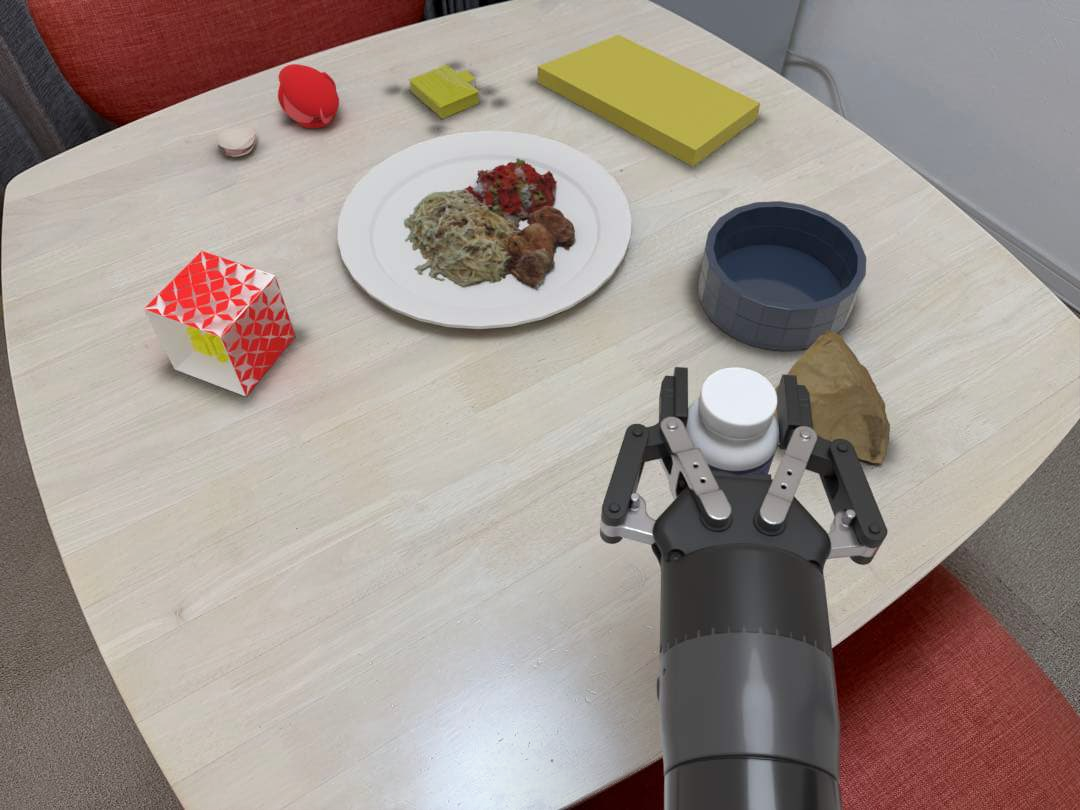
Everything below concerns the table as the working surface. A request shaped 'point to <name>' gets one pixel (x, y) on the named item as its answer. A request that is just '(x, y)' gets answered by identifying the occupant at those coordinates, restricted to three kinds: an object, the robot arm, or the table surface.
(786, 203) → the pot
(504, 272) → the plated food
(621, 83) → the flat olive board
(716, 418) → the pill bottle
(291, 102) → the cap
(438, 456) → the table surface
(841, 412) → the rock
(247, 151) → the macaroon
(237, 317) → the red patterned cube
